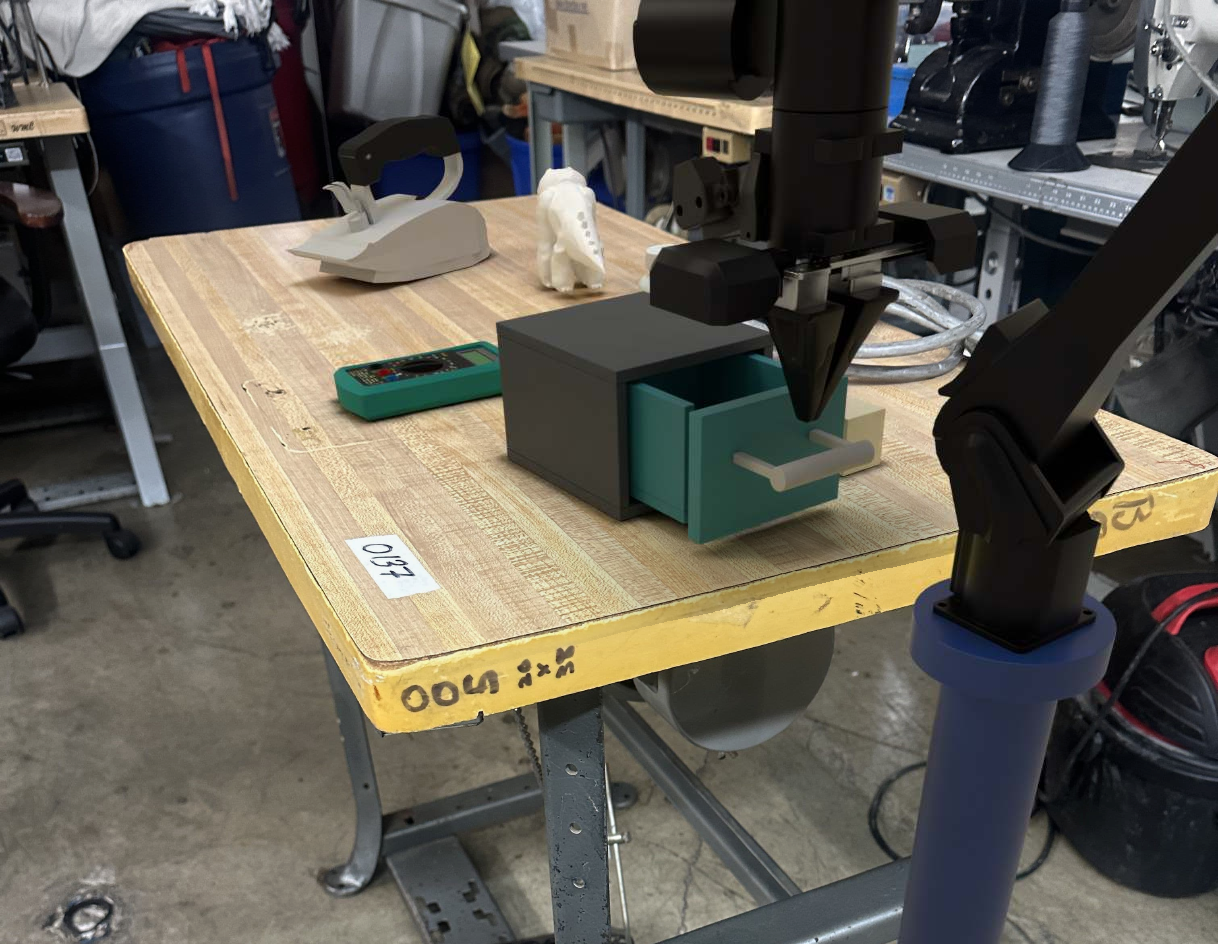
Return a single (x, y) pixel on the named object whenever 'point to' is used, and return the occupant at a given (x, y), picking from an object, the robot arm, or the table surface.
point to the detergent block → (864, 427)
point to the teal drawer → (733, 446)
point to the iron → (398, 210)
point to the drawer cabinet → (596, 386)
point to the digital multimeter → (419, 380)
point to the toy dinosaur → (568, 232)
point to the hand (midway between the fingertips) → (807, 420)
